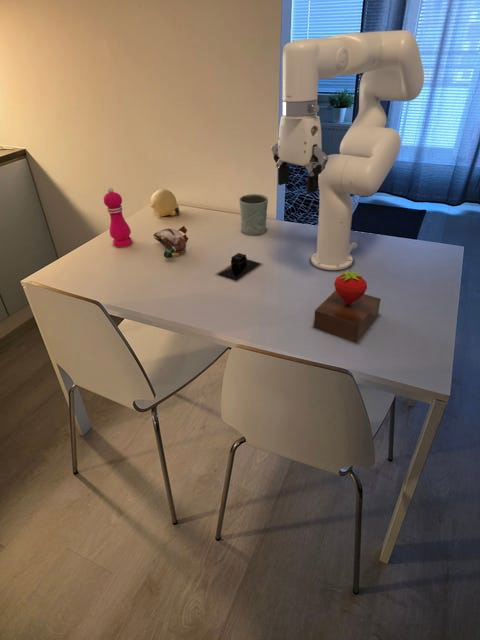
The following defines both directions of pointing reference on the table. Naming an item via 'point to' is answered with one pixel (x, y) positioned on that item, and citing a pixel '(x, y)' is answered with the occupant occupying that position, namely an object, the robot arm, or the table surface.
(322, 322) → the walnut block
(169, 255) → the decorative duck model
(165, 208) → the beige rounded lump
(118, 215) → the pepper mill
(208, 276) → the table surface
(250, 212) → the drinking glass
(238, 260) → the build plate
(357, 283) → the strawberry
